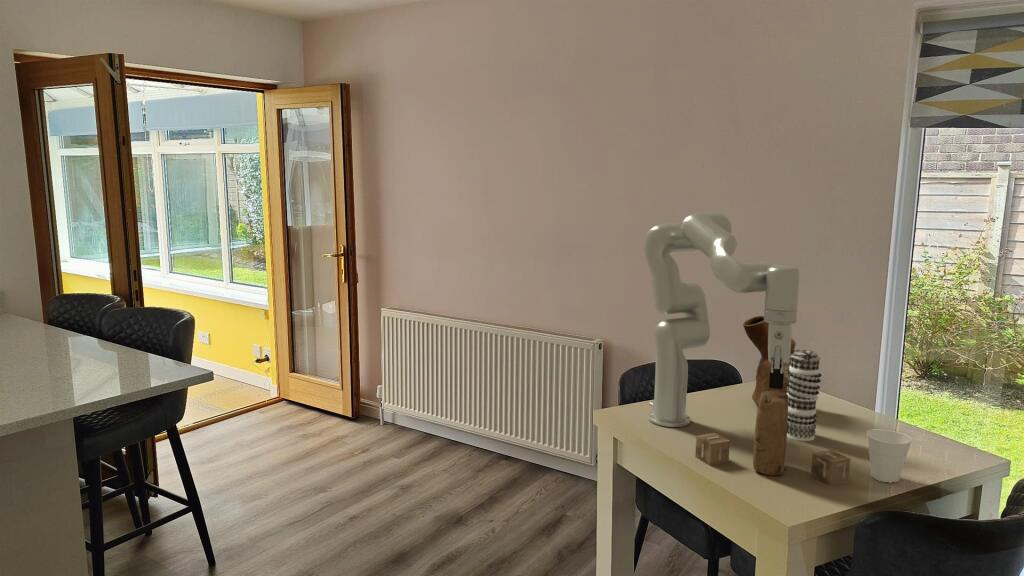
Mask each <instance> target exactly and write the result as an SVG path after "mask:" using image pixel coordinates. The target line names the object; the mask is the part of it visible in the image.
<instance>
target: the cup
mask: <svg viewBox="0 0 1024 576" xmlns="http://www.w3.org/2000/svg"><path fill="white" fill-rule="evenodd" d="M866 436H867V443H868V454H869V455H868V456H869V464H870V475H871V477H873V479H874V480H876V481H879V482H881V481H882V483H885V482H889V483H888V484H893V483H892V482H895V483H897V482H899V481H900V480H901V479H900V478H901V476H902V472H903V467H904V466H905V461H906V459H907V455H908V452H909V450H910V446H911V444H912V442H913V439H912V438H911V437H910V436H909V435H907V434H905V433H902V432H901V431H900V432H899V431H895V430H891V429H883V428H881V429H880V428H879V429H878V428H875V429H869V430H867V431H866Z"/></svg>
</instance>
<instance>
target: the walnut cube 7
mask: <svg viewBox="0 0 1024 576" xmlns="http://www.w3.org/2000/svg"><path fill="white" fill-rule="evenodd" d="M850 467H851V458H850V457H848V456H846V455H844V454H841V453H839V452H837V451H835V450H832V449H826V450H823V451H818V452H812V458H811V467H810V468H811V469H810V476H811V477H813V478H814V479H816V480H819V481H821V482H823V483H825V484H827V485H828V486H834V485H839V484H843V482H844V483H846V482H847V483H848V482H849V478H850Z"/></svg>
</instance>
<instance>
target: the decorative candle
mask: <svg viewBox="0 0 1024 576" xmlns="http://www.w3.org/2000/svg"><path fill="white" fill-rule="evenodd" d="M790 358H791V364H790V367H789V368H788V369H787V374H789V375H788V376H787V377H786V378H787V380H788V381H787V382H786V383H787V386H788V387H787V389H786V391H787V395H788V425H787V438H788V439H790V440H791V439H792V440H794V441H800V442H809V441H810V442H811V441H813V440H815V439H816V435H815V434H816V429H817V425H816V423H817V419H816V418H817V416H818V415H817V401H818V400H819V396H818V395H819V394H820V391H819V390H820V388H821V386H819V385H818V384H819V383H822V380H821V377H822V374H821V373H820V360H821V359H822V358H821V357H820V356H819V355H818V354H817V352H815V351H813V350H809V349H801V348H800V349H796V350H795V351H794V353H793V354H790Z"/></svg>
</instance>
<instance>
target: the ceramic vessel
mask: <svg viewBox="0 0 1024 576" xmlns="http://www.w3.org/2000/svg"><path fill="white" fill-rule="evenodd" d="M742 326H743V328H744V332H745V333H746V335H747V337H748V339H749V340H750V341H751V343H752V344H753V345H754V347H755V348H757V350H758V351H759V353H760V356H761V358H760V360H759V362H758V365H757V369H756V375H755V382H756V383H755V386H754V387H755V388H754V390H753V393H752V395H751V399H752V401H753V402H754V403H755V405H756V406H758V404H759V399H760V396H761V393H762V392H764V391H779V392H784V393H786V394H787V391H786V389H787V387H788V386H787V383H786V382H787V381H788V380H787V378H786V377H787V376H788V375H789V374H787V369H788V368H789V367H790V364H791V357H790V363H789V364H787V363H783V372H784V378H783V389H773V388H769V380H770V371H771V363H770V362H769V359H768V331H769V323H768V322H765V321H764V315H757V316H751V317H749V318H747V319H745V320H744V321H743V323H742ZM796 345H797V343H796V341H795V339H793V338H792V337H791V352H790V354H793V353H794V351H796V350H795V347H796ZM783 362H784V361H783Z"/></svg>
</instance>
